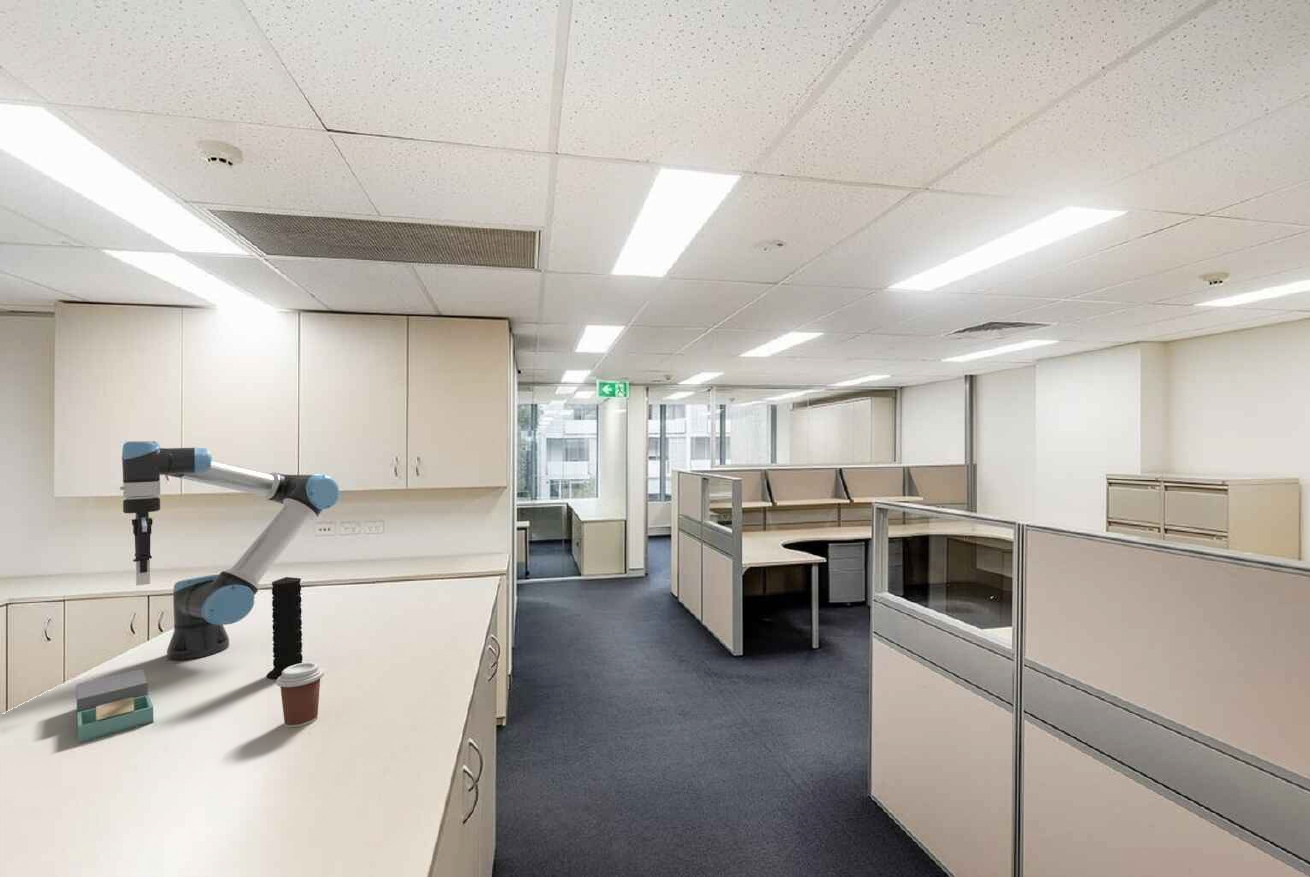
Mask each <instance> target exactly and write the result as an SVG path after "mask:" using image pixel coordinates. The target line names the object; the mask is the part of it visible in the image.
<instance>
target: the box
mask: <svg viewBox="0 0 1310 877" xmlns="http://www.w3.org/2000/svg"><path fill="white" fill-rule="evenodd" d="M133 699H134V711H133V712H129V713H126V714H122V715H118V716H114V717H110V718H107V719H103V720H99V721H96V708H94V709H90V710H86V711H82V712H78V725H77V739H78V744H81V743H85V742H88V741H92V740H95V738H96V739H99V738H98V737H100V738H102V737H106V735H107V736H109V734H110V735H113V734H112V733H114V734H116V733H115V732H117V733H120V732H124V731H128V730H131V728H132V729H135V728H137V727H136V726H139V727H142V726H145V725H149V724H152V723H153V724H154V705H153V702H152V700H151V698H150V695H149V694H148V695H145V696H141V697H137V698H133ZM134 727H135V728H134Z"/></svg>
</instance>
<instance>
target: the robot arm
mask: <svg viewBox="0 0 1310 877" xmlns="http://www.w3.org/2000/svg"><path fill="white" fill-rule="evenodd" d="M121 460H122V461H121V462H122V463H121V465H122V485H123V486H119V490H121V491H122V496H123V498H125V499H123V501H122V507H123V508H122V511H123V513H124V514H135V519H134V518H133V519H131V525H132V529H133V530H132V532H133V535H134V557H135V558H134V559H133V563H135V583H136V584H135V585H136V586H143V585H150V584H151V563H150V562H151V561H150V560H151V559H153V556H152V555H151V535H152V525H153V523H154V522H153V518H152V517H150V514H149V513H153V512H158V511H160V510H161V498H160V497H159V496H160V495H161V478H160V476H169V477H173V478H178V479H183V480H186V481H191V482H192V481H193V482H197V483H201V484H202V483H203V484H206V485H210V486H211V485H212V486H217V487H220V488H226V489H230V490H234V491H239V492H244V493H248V494H254V495H258V496H260V497H261V499H262V500H266V501H271V502H275V503H278V504H282V505H283V507H282V509H280V511H279V512H278V513H277V514H276V515H275V517H274V518H273V519H272V520H271V521H270V523H268V525H267V527H265V529H264V530H263V531H262V532H261V533H260V534H259V536H258V537H257V538H256V539H255V540H254V541H253V542H252V543H251V545H250V546H249V547H248V548H247V550H245V552H244V553H243V554H242V555H241V557H239V559H238V560H237V561H236V562H235V564H234V565H233V566H232V567H231V568H229V569H226V570H222V571H221V572H219V574H210V575H204V576H203V575H202V576H197V577H193V578H192V577H191V578H186V579H182V580H179V581H177V582H175V583H174V585H173V592H172V596H173V627H174V628H173V633H172V636H171V638H170V641H169V644H168V646H167V649H166V658H167V659H168V660H171V661H183V660H185V661H186V660H193V659H198V658H203V657H207V656H211V655H214V654H216V653H220V652H222V651H225V650H226V649H228V648H229V647H230V637H229V635H228V633H227V631H226V628H225V626H226V625H232V624H236V623H237V622H240V621H242V620H243V619H244V618H246V617H247V616H248V615H249V614H250V612H251V611H252V609H253V608H254V607H255V606H254V605H255V595H256V594H257V593H258V592H259V590H260V588H259V582H260V581H261V579H262V578H264V576H265V575H266V574H267V572H268V571H269V569H270V568H271V567H272V566H273V565H274V563H275V562H276V561H277V560H278V558H280V556H281V554H282V553H283V552H285V550H286V549H287V548H288V546H289V545H290V543H291V542H292V541H293V540H294V539H295V538H296V536H297V535H298V534H299V532H300V531H301V530H302V528H304V526H305V525H306V524H307V523H308V521H312V520H316V519H317V518H318V517H319V516H320V514H321V513H322V512H323V510H327V509H331V507H333V506H334V505H335V504H337V502H338V500H339V498H340V489H339V488H340V487H339V485H338V483H337V481H336V480H335V479H334V478H333V477H331V476H329V475H325V474H321V473H320V474H318V473H316V474H285V473H278V472H275V471H273V472H270V473H265V472H261V471H257V470H254V469H249V468H245V467H241V466H238V465H233V464H229V463H225V462H221V461H217V460H213V459H212V454H211V452H210V451H209V449H208V448H206V447H196V446H195V447H173V448H172V447H169V448H165V447H161V446H160V442H158V441H155V440H154V441H151V440H149V441H147V440H145V441H144V440H143V441H142V440H141V441H140V440H139V441H136V440H135V441H126V442H125V443H124V444H123V445H122V452H121ZM224 625H225V626H224Z"/></svg>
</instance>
